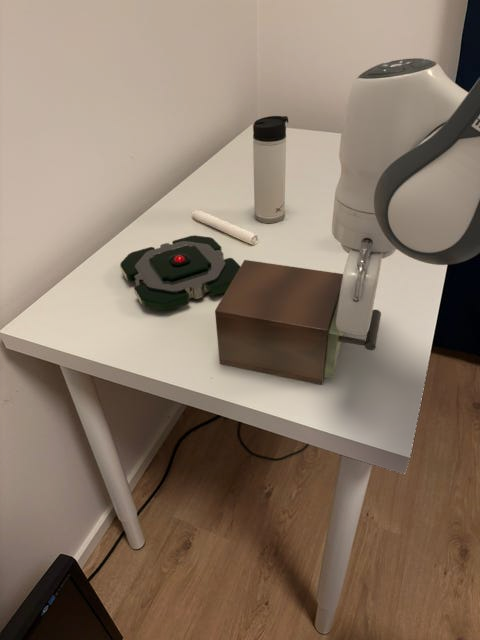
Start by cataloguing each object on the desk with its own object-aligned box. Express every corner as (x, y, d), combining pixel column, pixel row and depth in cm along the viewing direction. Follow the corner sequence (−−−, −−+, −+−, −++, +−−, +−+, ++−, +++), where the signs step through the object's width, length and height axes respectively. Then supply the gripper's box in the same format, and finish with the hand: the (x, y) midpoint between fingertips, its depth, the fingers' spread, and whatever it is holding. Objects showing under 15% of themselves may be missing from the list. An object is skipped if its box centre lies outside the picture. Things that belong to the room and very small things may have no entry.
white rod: (188, 218, 102) (187, 208, 101) (195, 215, 104) (194, 204, 102) (251, 246, 93) (251, 236, 91) (258, 242, 94) (258, 231, 92)
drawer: (377, 331, 71) (385, 287, 66) (368, 386, 63) (377, 341, 58) (258, 310, 76) (258, 269, 71) (235, 359, 68) (233, 316, 63)
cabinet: (337, 326, 74) (343, 273, 68) (322, 384, 65) (327, 330, 58) (246, 310, 78) (244, 259, 71) (219, 363, 68) (214, 310, 62)
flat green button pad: (251, 288, 82) (250, 266, 79) (150, 322, 76) (145, 299, 73) (207, 242, 95) (205, 221, 92) (118, 268, 89) (112, 246, 86)
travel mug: (286, 223, 99) (289, 122, 87) (254, 224, 100) (252, 124, 87) (285, 209, 104) (287, 112, 91) (254, 210, 104) (252, 113, 92)
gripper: (393, 273, 46) (373, 374, 55) (406, 185, 61) (388, 276, 70) (328, 264, 48) (318, 363, 57) (355, 180, 63) (344, 270, 72)
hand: (357, 314), depth 63 cm, fingers closed
